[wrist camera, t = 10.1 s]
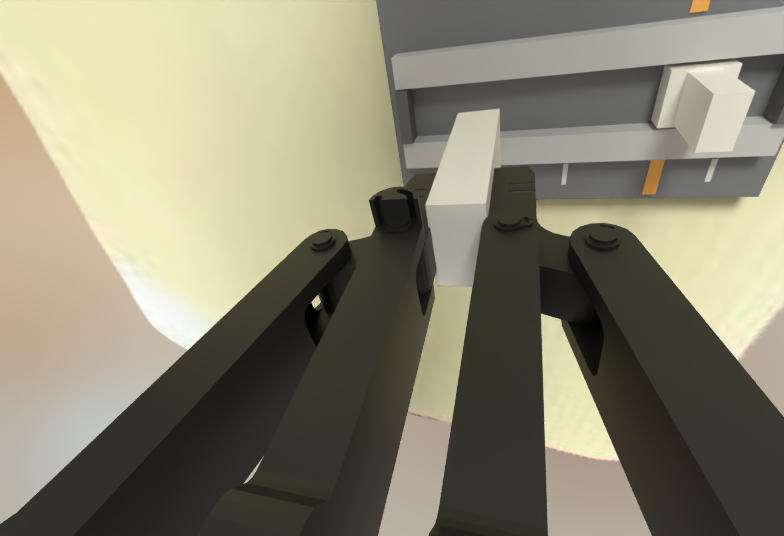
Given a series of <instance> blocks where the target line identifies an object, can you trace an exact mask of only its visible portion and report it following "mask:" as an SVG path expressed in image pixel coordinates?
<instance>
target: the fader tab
mask: <svg viewBox="0 0 784 536" xmlns="http://www.w3.org/2000/svg"><path fill="white" fill-rule="evenodd" d="M741 67H742V63H741V62H739V61H737V60H736V59H734V58H729V59H719V60H708V61H698V62H687V63H677V64H666V65H664V69H663V73H662V78H661V82H660V86H659V90H658V94H657V98H656V102H655V106H654V110H653V114H652V118H651V120H652V122H653V123H654V125H655V126H656V128H671V127H675V128H676V129H677V130H678V132H679V133H680V134H681V136H682V137H683V138H684V140H685V141H686V142H687V144H688V145H689V146H690V147H691V149H692V150H693V151H694V153H703V152H729V151H732V150H733V148H734V145H735V143H736V140H737V138H738V135H739V132H740V130H741V127H742V125H743V122H744V119H745V117H746V114H747V112H748V109H749V107H750V104H751V101H752V99H753V96H754V94H755V90H753V89H752V88H750V87H749V86H747V85H746V84H744V83H743V82H742V81H740V80H739V79H737V78H738V75H739V73H740V70H741Z"/></svg>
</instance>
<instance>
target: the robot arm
mask: <svg viewBox="0 0 784 536" xmlns="http://www.w3.org/2000/svg"><path fill="white" fill-rule="evenodd" d="M535 190H536V189H535V173H534V172H533V171H532V170H531V169H530V168H529V167H528V166H518V167H501V152H500V109H491V110H482V111H472V112H463V113H458V115H457V117H456V120H455V123H454V126H453V129H452V132H451V134H450V137H449V140H448V143H447V146H446V148H445V151H444V154H443V157H442V160H441V162H440V165H439V168H438V171H437V173H421V174H416V175H415V176H414V177H413V178H411V179H410V180H409V181H408V182H407V185H406V187H393V188H388V189H385V190H382V191H380V192H378V193H377V194H375V195H373V196H372V198H371V199H370V200H369V202H370V206H371V210H372V214H373V218H374V222H375V226H376V227H375V229H374V231H373V233H372V235H371V236H370V237H366V238H362V239H357V240H353V241H348V239H347V236H346V234H345V233H344V232H343V231H340V230H337V229H326V230H321V231H318V232H316V233H314V234H312V235H310V236H309V237H308V238H306V239H305V240H304V241H303V242H302V243H301V244H299V245H298V246H297V247H296V248H295V249H294V250H293V251H292V252H291V253H290V254H289V255H288V256H287V257H286V258H285V259H284V260H283V261H282V262H280V263H279V264H278V265H277V266H276V267H275V268H274V269H273V270H272V271H271V272H270V273H269V274H268V275H267V276H266V277H265V278H264V279H263V280H262V281H260V282H259V283H258V284H257V285H256V286H255V287H254V288H253V289H252V290H251V291H250V292H249V293H248V294H247V295H246V296H245V297H244V298H243V299H242V300H240V301H239V302H238V303H237V304H236V305H235V306H234V307H233V308H232V309H231V310H230V311H229V312H228V313H227V314H226V315H225V316H224V317H223V318H221V319H220V320H219V321H218V322H217V323H216V324H215V325H214V326H213V327H212V328H211V329H210V330H209V331H208V332H207V333H206V334H205V335H204V336H203V337H201V338H200V339H199V340H198V341H197V342H196V343H195V344H194V345H193V346H192V347H191V348H190V349H189V350H188V351H187V352H186V353H185V354H184V355H182V356H181V357H180V358H179V359H178V360H177V361H176V362H175V363H174V364H173V365H172V366H171V367H170V368H169V369H168V370H167V371H166V372H165V373H164V374H162V375H161V376H160V377H159V379H157V380H156V381H155V382H154V383H153V384H152V385H151V386H150V387H149V388H148V389H147V390H146V391H145V392H144V393H142V394H141V395H140V396H139V397H138V398H137V399H136V400H135V401H134V402H133V403H132V404H131V405H130V406H129V407H128V408H127V409H126V410H125V411H123V412H122V413H121V414H120V415H119V416H118V417H117V418H116V419H115V420H114V421H113V422H112V423H111V424H110V425H109V426H108V427H107V428H106V429H105V430H103V432H102V433H101V434H99V435H98V436H97V437H96V438H95V439H94V440H93V441H92V442H91V443H90V444H89V445H88V446H87V447H86V448H84V449H83V450H82V451H81V453H79V454H78V455H77V456H76V457H75V458H74V459H73V460H72V461H71V462H70V463H69V464H68V465H67V466H66V467H64V469H63V470H61V471H60V472H59V473H58V474H57V475H56V476H55V477H54V478H53V479H52V480H51V481H50V482H49V483H48V484H47V485H45V487H43V488H42V489H41V490H40V491H39V492H38V493H37V494H36V495H35V496H34V497H33V498H32V499H31V500H30V501H29V502H28V503H27V504H25V505H24V507H22V508H21V509H20V510H19V511H18V512H17V513H16V514H14V515H13V516H11V517H10V518H8V519H7V520H6V521H4V522H3V523H1V524H0V536H378V533H379V528H380V524H381V520H382V515H383V512H384V508H385V503H386V499H387V495H388V491H389V487H390V483H391V478H392V474H393V470H394V466H395V462H396V457H397V453H398V449H399V445H400V441H401V436H402V432H403V428H404V424H405V420H406V416H407V412H408V407H409V403H410V399H411V395H412V391H413V387H414V382H415V378H416V374H417V370H418V366H419V362H420V357H421V353H422V349H423V345H424V341H425V336H426V332H427V328H428V324H429V320H430V316H431V311H432V307H433V303H434V299H435V293H434V286H433V281H434V277H435V274H436V277H437V284H438V285H439V286H472V287H473V288H472V294H471V301H470V307H469V314H468V320H467V327H466V334H465V340H464V347H463V353H462V360H461V366H460V373H459V380H458V386H457V393H456V399H455V406H454V413H453V419H452V426H451V432H450V439H449V445H448V452H447V459H446V465H445V472H444V478H443V485H442V492H441V499H440V505H439V510H438V516H437V519H436V523H435V525H434V527H433V528H432V530H431V531H430V533H429V536H548V528H547V496H546V464H545V432H544V400H543V368H542V336H541V313H542V314H545V315H548V316H552V317H555V318H559V319H561V322H562V327H563V329H564V332H565V334H566V336H567V339H568V341H569V343H570V346H571V348H572V350H573V353H574V355H575V357H576V360H577V362H578V364H579V367H580V369H581V371H582V374H583V376H584V378H585V381H586V383H587V385H588V388H589V390H590V392H591V395H592V397H593V399H594V402H595V404H596V406H597V409H598V411H599V413H600V416H601V418H602V420H603V423H604V425H605V427H606V430H607V432H608V434H609V437H610V439H611V441H612V444H613V446H614V448H615V451H616V453H617V455H618V458H619V460H620V462H621V464H622V467H623V469H624V472H625V474H626V476H627V479H628V481H629V483H630V485H631V488H632V490H633V492H634V495H635V497H636V499H637V502H638V504H639V506H640V509H641V511H642V514H643V516H644V518H645V521H646V523H647V525H648V527H649V530H650V532H651V535H652V536H784V417H783V416H782V414H781V413H780V412H779V411H778V410H777V408H776V407H775V406H774V405H773V403H772V402H771V401H770V400H769V398H768V397H767V396H766V395H765V394H764V392H763V391H762V390H761V389H760V387H759V386H758V385H757V384H756V383H755V381H754V380H753V379H752V378H751V376H750V375H749V374H748V373H747V372H746V370H745V369H744V368H743V367H742V366H741V364H740V363H739V362H738V361H737V359H736V358H735V357H734V356H733V354H732V353H731V352H730V351H729V350H728V348H727V347H726V346H725V345H724V343H723V342H722V341H721V340H720V339H719V337H718V336H717V335H716V334H715V333H714V331H713V330H712V329H711V328H710V326H709V325H708V324H707V323H706V322H705V320H704V319H703V318H702V317H701V315H700V314H699V313H698V312H697V311H696V309H695V308H694V307H693V306H692V304H691V303H690V302H689V301H688V300H687V298H686V297H685V296H684V295H683V293H682V292H681V291H680V290H679V289H678V287H677V286H676V285H675V284H674V282H673V281H672V280H671V279H670V278H669V276H668V275H667V274H666V273H665V272H664V270H663V269H662V268H661V267H660V265H659V264H658V263H657V262H656V261H655V259H654V258H653V257H652V256H651V254H650V253H649V252H648V251H647V250H646V248H645V247H644V246H643V245H642V243H641V242H640V241H639V240H638V239H637V237H636V236H635V235H634V234H632V233H631V232H630V231H629V230H627V229H625V228H622V227H620V226H617V225H612V224H606V223H595V224H588V225H584V226H581V227H579V228H578V229H576V230H574V231H573V232H572V234H571V236H570V237H569V236H563V235H559V234H555V233H552V232H550V231H547V230H546V229H544V228H543V227H541V226H540V224H539V223H538V222H537V218H536V191H535ZM317 295H318V296H319V298H320V301H321V303H320V304H319V305H318V306H317V307H315V308H314V307H313V305H312V303H311V302H312V301H313V300H314V298H315V297H316V296H317ZM263 456H264V457H263ZM262 457H263V459H262ZM261 459H262V461H261V463H260V465H259V467H258V469H257V471H256V472H255V474H254V476H253V477H252V478H251V479H250V480H249V481H248V482H247V483H245V484H243V483H244V482H245V481H246V479H247V478H248V477H249V475H250V474H251V472H252V471H253V469H254V468H255V467H256V466H257V464H258V463H259V461H260V460H261Z"/></svg>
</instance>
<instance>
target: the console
mask: <svg viewBox="0 0 784 536" xmlns="http://www.w3.org/2000/svg"><path fill="white" fill-rule="evenodd" d="M376 2H377V9H378V15H379V22H380V29H381V35H382V42H383V49H384V56H385V62H386V69H387V76H388V82H389V89H390V96H391V103H392V109H393V116H394V123H395V130H396V136H397V143H398V150H399V156H400V163H401V170H402V177H403V183H404V187H406V185H407V182H408V181H409V180H410V179H411V178H413V177H414V176H415V175H416V174H421V173H437V171H438V168H439V165H440V162H441V160H442V157H443V154H444V151H445V148H446V146H447V143H448V140H449V137H450V134H451V132H452V129H453V126H454V123H455V120H456V117H457V115H458V113H463V112H472V111H482V110H491V109H500V152H501V167H518V166H528V167H529V168H530V169H531V170H532V171H533V172H534V173H535V189H536V190H535V191H536V199H585V198H677V197H758V196H759V194H760V192H761V190H762V188H763V185H764V183H765V181H766V179H767V177H768V175H769V172H770V170H771V168H772V166H773V164H774V162H775V160H776V157H777V155H778V153H779V151H780V149H781V147H782V144H783V142H784V0H376ZM729 58H734V59H736V60H737V61H739V62H741V63H742V67H741V70H740V73H739V75H738V78H737V79H739V80H740V81H742V82H743V83H744V84H746V85H747V86H749V87H750V88H752V89H753V90H755V94H754V96H753V99H752V101H751V104H750V107H749V109H748V112H747V114H746V117H745V119H744V122H743V125H742V127H741V130H740V132H739V135H738V138H737V140H736V143H735V145H734V148H733V150H732V151H729V152H703V153H694V151H693V150H692V149H691V147H690V146H689V145H688V144H687V142H686V141H685V140H684V138H683V137H682V136H681V134H680V133H679V132H678V130H677V129H676V128H675V127H671V128H656V126H655V125H654V123H653V122H652V120H651V118H652V114H653V110H654V106H655V102H656V98H657V94H658V90H659V86H660V82H661V78H662V73H663V69H664V65H666V64H677V63H687V62H698V61H708V60H719V59H729Z"/></svg>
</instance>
